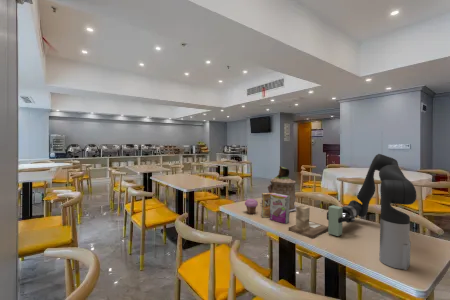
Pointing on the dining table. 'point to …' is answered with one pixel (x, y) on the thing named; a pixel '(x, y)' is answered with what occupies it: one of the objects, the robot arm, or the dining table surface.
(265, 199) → the candy box
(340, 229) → the green block
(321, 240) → the dining table surface
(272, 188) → the cookie jar
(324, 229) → the base board
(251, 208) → the cupcake
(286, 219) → the candy bar box
